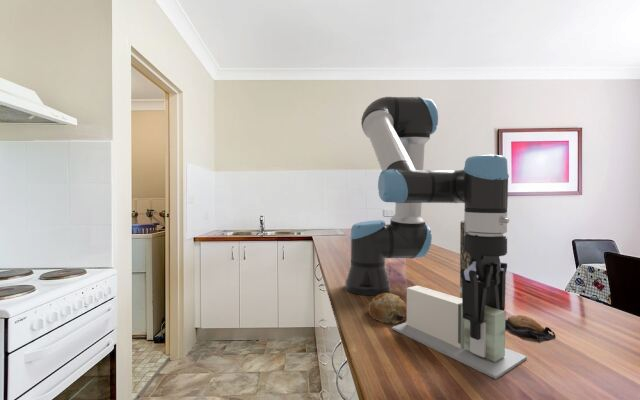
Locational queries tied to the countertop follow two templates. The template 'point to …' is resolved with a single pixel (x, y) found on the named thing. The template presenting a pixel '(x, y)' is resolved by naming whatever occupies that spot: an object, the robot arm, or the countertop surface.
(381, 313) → the bread roll
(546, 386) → the countertop surface
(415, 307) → the block
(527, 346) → the countertop surface
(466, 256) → the paper tube
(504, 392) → the countertop surface
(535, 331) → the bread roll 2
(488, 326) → the pale green block
